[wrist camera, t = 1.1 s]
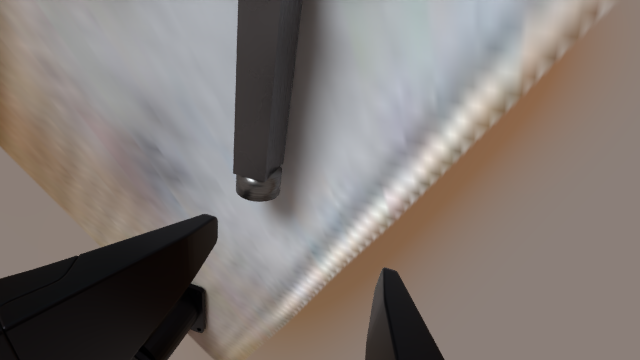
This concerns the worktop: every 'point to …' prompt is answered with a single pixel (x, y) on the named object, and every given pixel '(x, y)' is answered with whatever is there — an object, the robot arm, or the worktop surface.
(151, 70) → the worktop surface
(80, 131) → the worktop surface
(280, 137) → the folding leg
